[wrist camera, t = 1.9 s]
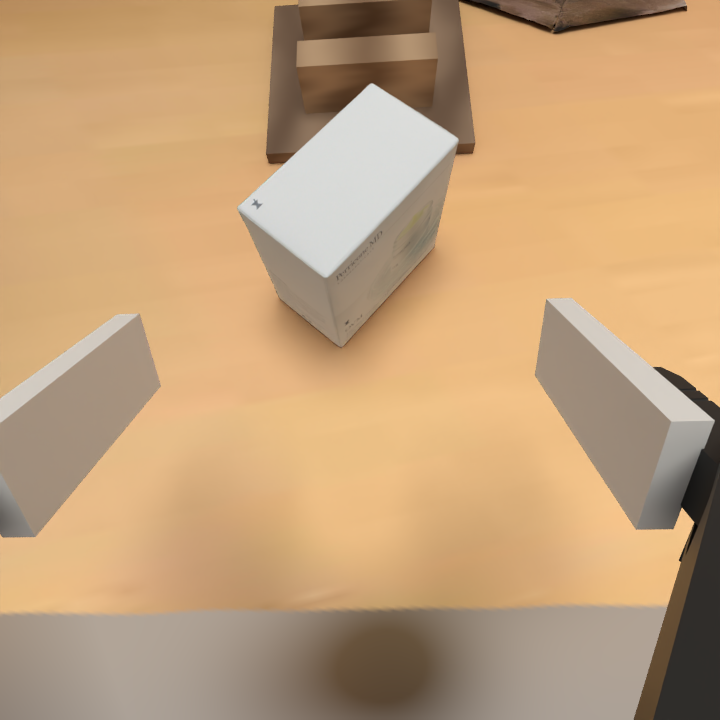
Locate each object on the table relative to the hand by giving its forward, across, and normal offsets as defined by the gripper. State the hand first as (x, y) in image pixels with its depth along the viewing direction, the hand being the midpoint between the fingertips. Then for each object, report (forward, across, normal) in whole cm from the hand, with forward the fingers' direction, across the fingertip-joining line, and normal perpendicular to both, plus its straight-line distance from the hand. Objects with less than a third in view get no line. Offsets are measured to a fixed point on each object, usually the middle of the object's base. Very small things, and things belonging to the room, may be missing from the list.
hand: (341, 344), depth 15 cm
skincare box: (+18, 0, -3) cm, 19 cm away
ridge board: (+31, +1, +10) cm, 32 cm away
